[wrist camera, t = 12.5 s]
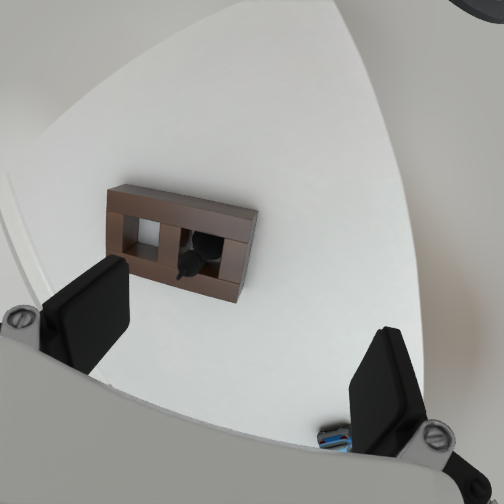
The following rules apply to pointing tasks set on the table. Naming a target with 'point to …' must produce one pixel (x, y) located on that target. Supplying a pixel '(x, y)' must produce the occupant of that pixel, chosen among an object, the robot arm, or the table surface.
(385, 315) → the table surface
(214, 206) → the socket base
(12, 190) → the table surface
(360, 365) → the robot arm
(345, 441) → the toy car
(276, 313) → the table surface
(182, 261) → the chess piece
